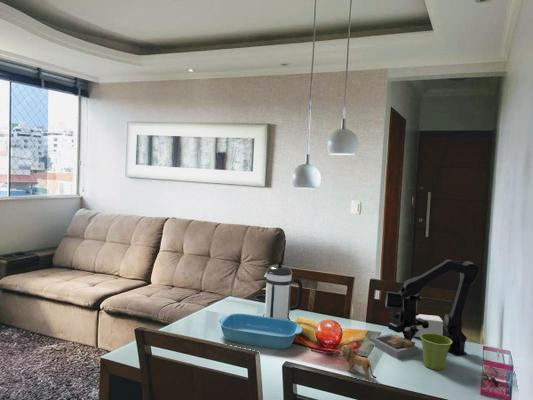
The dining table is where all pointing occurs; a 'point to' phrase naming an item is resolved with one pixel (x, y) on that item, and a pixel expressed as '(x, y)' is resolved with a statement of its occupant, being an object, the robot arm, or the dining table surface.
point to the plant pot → (435, 350)
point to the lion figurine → (356, 360)
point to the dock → (390, 350)
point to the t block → (400, 342)
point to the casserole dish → (259, 330)
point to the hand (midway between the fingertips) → (407, 344)
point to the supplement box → (430, 325)
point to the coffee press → (280, 291)
